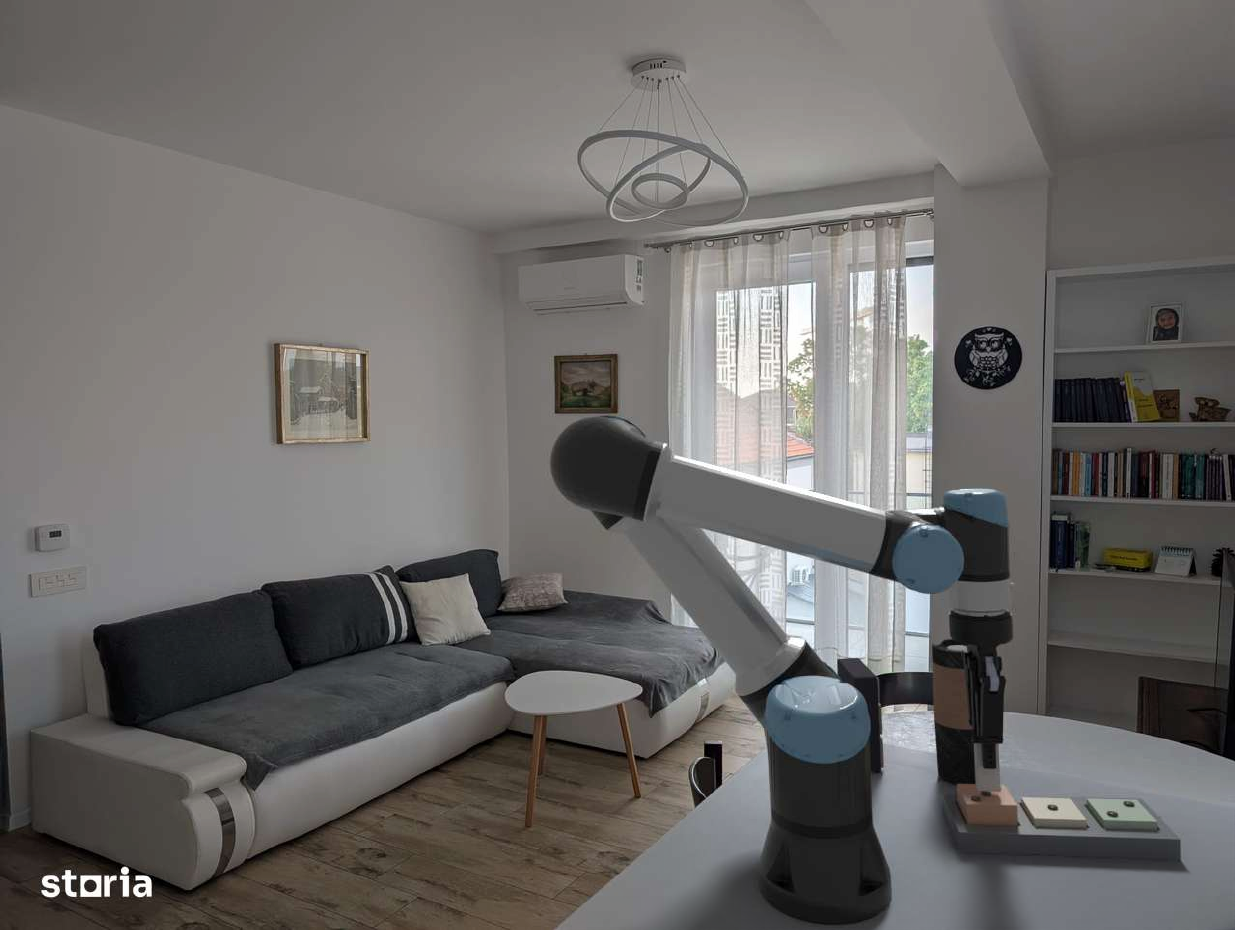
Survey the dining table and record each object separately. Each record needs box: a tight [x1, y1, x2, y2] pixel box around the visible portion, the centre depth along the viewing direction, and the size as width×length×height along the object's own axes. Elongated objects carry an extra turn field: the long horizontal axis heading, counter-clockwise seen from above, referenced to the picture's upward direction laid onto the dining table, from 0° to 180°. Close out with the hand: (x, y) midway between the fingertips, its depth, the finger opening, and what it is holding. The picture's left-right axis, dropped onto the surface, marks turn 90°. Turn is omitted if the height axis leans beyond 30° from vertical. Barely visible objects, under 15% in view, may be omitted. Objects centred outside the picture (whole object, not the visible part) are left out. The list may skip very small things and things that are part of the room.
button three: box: [956, 784, 1018, 826], centre depth 111 cm, size 6×6×3 cm
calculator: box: [836, 657, 885, 773], centre depth 136 cm, size 11×4×15 cm, turn 179°
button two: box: [1087, 798, 1157, 830], centre depth 108 cm, size 6×6×3 cm
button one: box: [1021, 797, 1087, 828], centre depth 109 cm, size 6×6×3 cm
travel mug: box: [931, 638, 977, 787], centre depth 127 cm, size 8×8×20 cm
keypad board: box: [941, 793, 1182, 861], centre depth 109 cm, size 25×11×2 cm, turn 79°
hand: (988, 788), depth 111 cm, fingers closed
